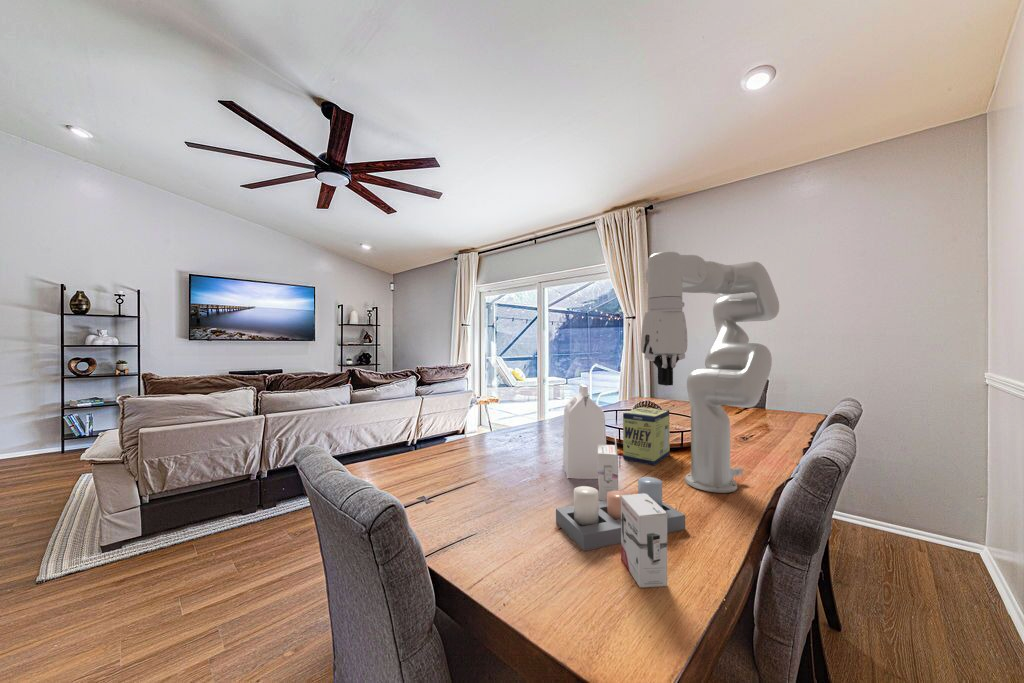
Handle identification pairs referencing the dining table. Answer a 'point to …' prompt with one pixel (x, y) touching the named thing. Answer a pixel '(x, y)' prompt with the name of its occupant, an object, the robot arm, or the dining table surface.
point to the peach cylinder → (614, 503)
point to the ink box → (644, 539)
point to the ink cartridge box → (607, 469)
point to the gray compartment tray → (606, 526)
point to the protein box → (646, 435)
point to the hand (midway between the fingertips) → (665, 384)
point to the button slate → (651, 488)
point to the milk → (582, 436)
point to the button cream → (586, 505)
